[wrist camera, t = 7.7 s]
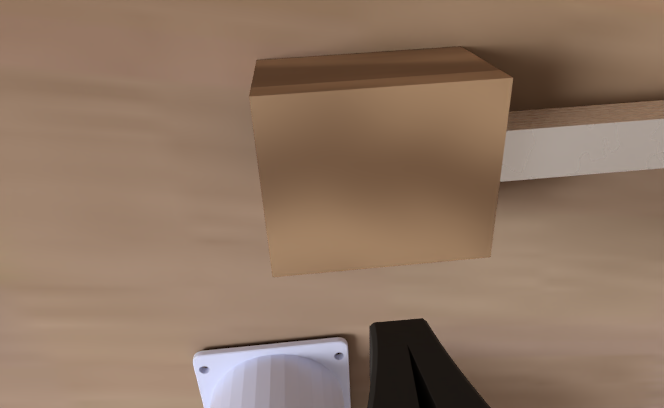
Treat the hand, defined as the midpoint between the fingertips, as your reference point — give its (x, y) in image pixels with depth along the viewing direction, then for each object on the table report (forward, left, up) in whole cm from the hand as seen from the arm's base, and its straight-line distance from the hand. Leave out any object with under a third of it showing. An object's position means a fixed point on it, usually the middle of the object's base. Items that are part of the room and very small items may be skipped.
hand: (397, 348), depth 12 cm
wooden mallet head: (+2, -1, -10) cm, 11 cm away
